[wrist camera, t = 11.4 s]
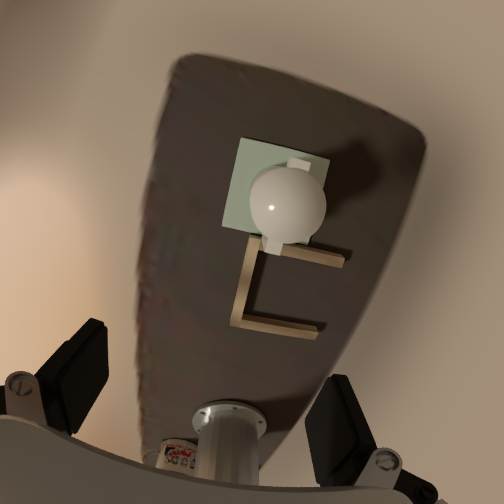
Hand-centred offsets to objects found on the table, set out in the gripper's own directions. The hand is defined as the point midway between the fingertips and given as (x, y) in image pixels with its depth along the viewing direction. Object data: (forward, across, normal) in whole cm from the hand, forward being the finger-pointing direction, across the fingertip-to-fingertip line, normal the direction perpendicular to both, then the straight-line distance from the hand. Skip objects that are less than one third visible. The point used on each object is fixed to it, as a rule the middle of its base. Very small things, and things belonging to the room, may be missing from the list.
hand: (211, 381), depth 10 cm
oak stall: (+23, -7, +4) cm, 25 cm away
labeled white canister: (+22, -3, -7) cm, 23 cm away
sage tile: (+23, -3, -7) cm, 24 cm away
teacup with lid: (+25, +3, +44) cm, 51 cm away
